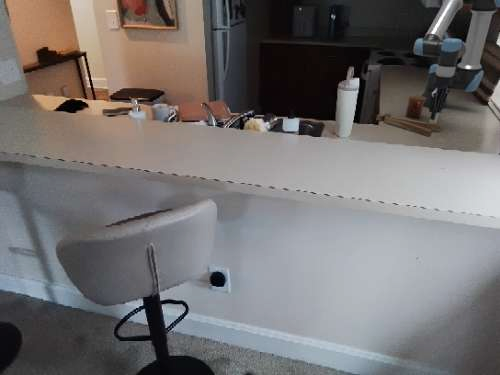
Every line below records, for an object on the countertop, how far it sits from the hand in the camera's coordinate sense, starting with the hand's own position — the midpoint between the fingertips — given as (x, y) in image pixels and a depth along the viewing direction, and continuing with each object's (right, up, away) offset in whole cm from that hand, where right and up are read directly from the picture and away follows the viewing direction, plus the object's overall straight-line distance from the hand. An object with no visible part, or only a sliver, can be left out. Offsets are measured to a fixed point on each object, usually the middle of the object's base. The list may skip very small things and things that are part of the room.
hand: (431, 125), depth 183 cm
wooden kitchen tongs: (-13, 0, +2) cm, 13 cm away
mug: (-2, +7, +16) cm, 18 cm away
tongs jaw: (-7, 0, +3) cm, 8 cm away
